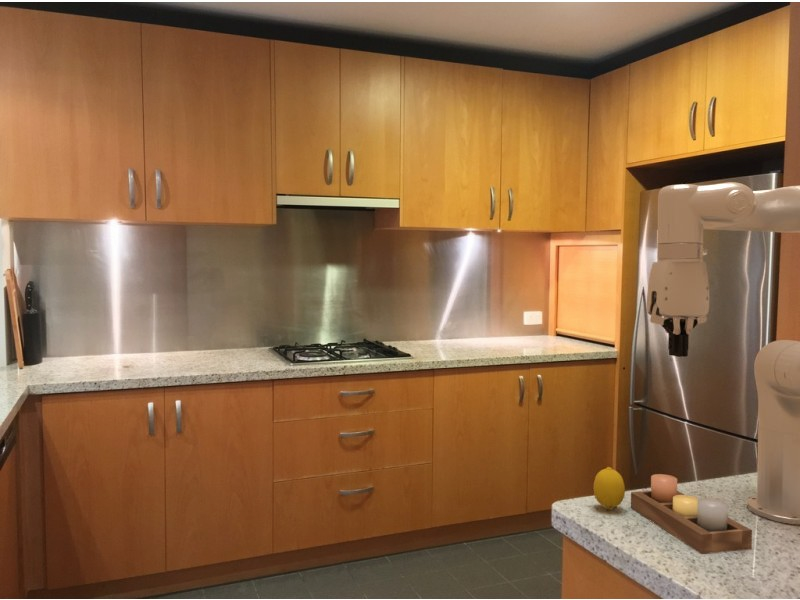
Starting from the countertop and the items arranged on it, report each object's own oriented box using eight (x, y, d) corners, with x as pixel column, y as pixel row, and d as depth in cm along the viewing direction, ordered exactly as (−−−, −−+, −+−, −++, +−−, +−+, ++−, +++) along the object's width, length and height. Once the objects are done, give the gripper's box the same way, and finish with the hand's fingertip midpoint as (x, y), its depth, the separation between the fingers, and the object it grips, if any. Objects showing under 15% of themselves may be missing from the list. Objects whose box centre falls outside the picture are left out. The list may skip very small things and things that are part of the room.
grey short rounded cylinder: (714, 523, 106) (715, 497, 106) (733, 533, 102) (733, 506, 102) (691, 525, 105) (691, 499, 105) (709, 535, 101) (709, 508, 101)
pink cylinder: (667, 496, 119) (667, 473, 119) (682, 505, 115) (682, 480, 114) (646, 498, 118) (646, 474, 118) (660, 506, 114) (660, 482, 114)
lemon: (626, 516, 115) (627, 472, 114) (594, 514, 116) (595, 470, 116) (622, 505, 120) (622, 463, 120) (591, 503, 121) (592, 462, 121)
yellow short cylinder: (689, 518, 113) (689, 494, 112) (706, 528, 108) (706, 502, 108) (667, 520, 112) (667, 495, 112) (683, 530, 107) (683, 504, 107)
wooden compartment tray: (673, 504, 121) (674, 488, 121) (751, 548, 101) (752, 530, 101) (630, 507, 119) (630, 492, 119) (701, 553, 99) (701, 534, 99)
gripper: (702, 255, 120) (700, 352, 120) (630, 254, 117) (629, 354, 117) (730, 253, 112) (728, 357, 113) (654, 253, 109) (653, 359, 110)
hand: (678, 355), depth 115 cm, fingers closed
